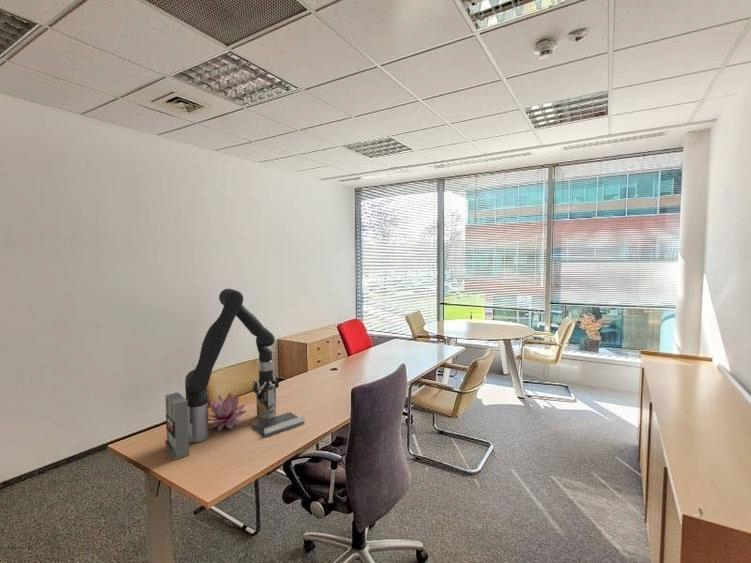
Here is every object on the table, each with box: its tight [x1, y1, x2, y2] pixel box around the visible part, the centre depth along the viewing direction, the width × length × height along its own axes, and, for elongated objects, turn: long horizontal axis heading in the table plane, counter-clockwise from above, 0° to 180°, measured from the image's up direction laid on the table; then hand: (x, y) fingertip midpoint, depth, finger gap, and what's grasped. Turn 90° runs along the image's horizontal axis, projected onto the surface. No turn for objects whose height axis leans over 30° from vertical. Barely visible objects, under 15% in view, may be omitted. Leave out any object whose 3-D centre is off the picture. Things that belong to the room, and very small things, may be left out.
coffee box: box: [255, 386, 277, 420], centre depth 202 cm, size 9×6×16 cm
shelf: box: [252, 411, 305, 438], centre depth 192 cm, size 22×15×4 cm
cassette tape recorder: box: [164, 392, 190, 461], centre depth 164 cm, size 14×6×25 cm, turn 44°
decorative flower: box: [208, 392, 247, 432], centre depth 190 cm, size 21×21×15 cm
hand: (266, 397), depth 202 cm, fingers closed on coffee box, 7 cm apart
